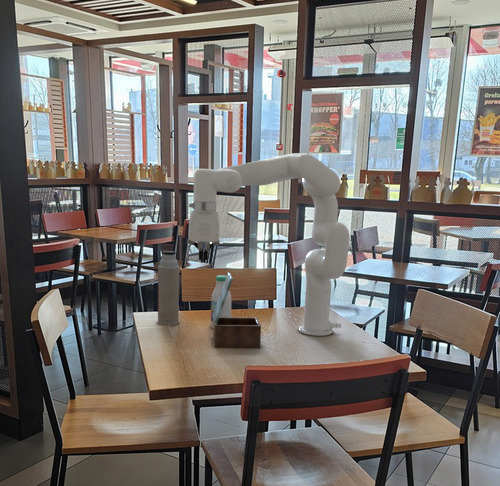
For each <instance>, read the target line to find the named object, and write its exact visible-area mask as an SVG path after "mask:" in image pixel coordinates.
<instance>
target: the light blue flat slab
mask: <svg viewBox="0 0 500 486" xmlns="http://www.w3.org/2000/svg"><path fill="white" fill-rule="evenodd" d="M226 276H227V277H226V279H225V282H224V285H223V288H222V290H221V293H220V296H219V299H218V301H217V304H216V307H215V310H214V312H213V315H212V316H213V321H214V324H217V322H218V319H219V316H220V314H221V311H222V308H223V305H224V303H225V300H226V297H227V294H228V292H229V291H230V289H231V286H232V283H233V280H234V278H233V276H232V273H231V272H227V274H226Z"/></svg>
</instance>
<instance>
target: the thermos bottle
mask: <svg viewBox="0 0 500 486" xmlns="http://www.w3.org/2000/svg"><path fill="white" fill-rule="evenodd" d="M176 254H177V253H176V251H173V250H164V251H162V258H161V259H160V260H159V265H158V267H157V272H158V273H157V274H158V275H157V324H158V325H160V326H170V327H171V326H177V325H179V321H180V317H179V316H180V305H179V303H180V302H179V301H180V265H179V262H178V260H177V258H176Z"/></svg>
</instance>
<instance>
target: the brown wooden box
mask: <svg viewBox="0 0 500 486" xmlns="http://www.w3.org/2000/svg"><path fill="white" fill-rule="evenodd" d="M261 338H262V325H261V323H260V321H259V318H258V317H233V316H231V317H219V319H218V322H217V324H214V321H213V328H212V341H213V346H214V349H227V348H228V349H261V340H262V339H261Z"/></svg>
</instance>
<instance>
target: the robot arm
mask: <svg viewBox="0 0 500 486" xmlns="http://www.w3.org/2000/svg"><path fill="white" fill-rule="evenodd" d="M293 179H302V186H303V189H304V190H305V192H307V193H308V195H309V196H310V197H311V200H312V201H313V205H314V206H313V207H314V208H313V209H314V211H313V220H312V229H311V240H312V241H313V242H314V243H315V244H316V245H318V246H321V247H324V249H323V248H315V249H312V250H310V251H308V253H307V254H306V256H305V260H304V270H305V293H304V310H303V324H302V325H300V326H299V327H298V331H299V332H300V333H302V334H304V335H308V336H315V337H316V336H317V337H322V336H329V335H331V334H333V329H334V328H335V329H341V328H342V323H341V322H336V321H331V320H330V309H331V295H332V280H336V279H339V278H341V277H342V276H343V274H344V273H345V271H346V269H347V264H348V257H349V249H350V241H351V237H350V236H351V235H350V231H349V229H348V227H347V226H346V224H344V223H342V222H339V221H338V214H339V213H338V212H339V203H338V199H337V196H336V194H337V193H338V192H339V190H340V189H341V179H340V177H339V175H338V174H337V173H336V172H335V171H334V170H332V169H331V168H330V167H329V166H327V165H326V164H324V163H323V162H322V161H321V160H319V159H318V158H316V156H313V155H312V154H310V153H306V152H295V153H294V152H293V153H288V154H283V155H278V156H273V157H269V158H265V159H259V160H255V161H251V162H246V163H241V164H236V165H230V166H225V167H220V168H217V169H213V168H212V169H211V168H196V169H195V170H194V173H193V197H192V198H193V199H192V200H193V201H192V202H189V203H188V208H192V210H191V211H190V214H189V221H188V238H187V244H188V245H189V246H190V245H191V246H193V247H195V248H196V249H197V250H198V261H200V263H201V264H202V263H204V264H206V262H207V261H208V260H209V251H210V250H211V248H213V247H217V246H220V242H221V241H220V215H219V212H218V211H217V196H218V195H217V192H222V193H226V194H227V193H230V194H231V193H235V192H238V191H239V190H240V188H241V187H248V186H267V185H272V184H276V183H281V182H285V181H289V180H293ZM202 243H205V245H204V246H205V247H204V248H203V247H202Z"/></svg>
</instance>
